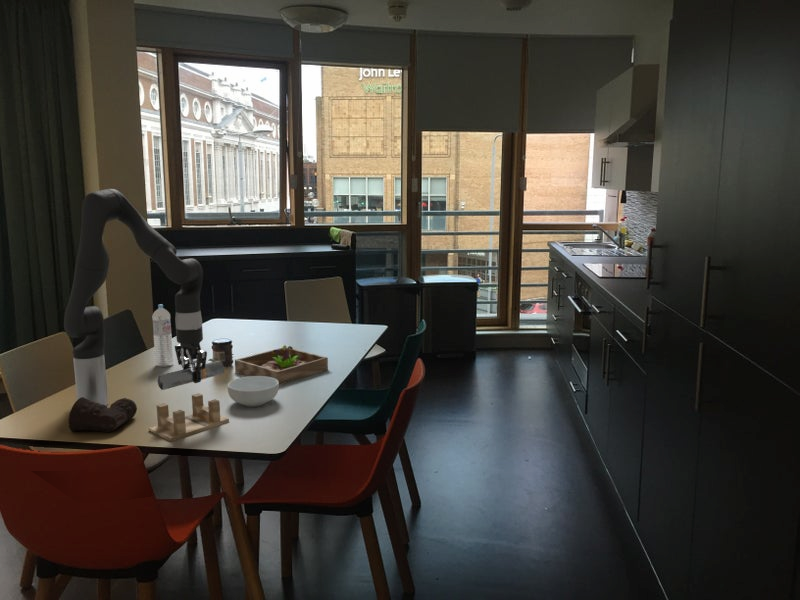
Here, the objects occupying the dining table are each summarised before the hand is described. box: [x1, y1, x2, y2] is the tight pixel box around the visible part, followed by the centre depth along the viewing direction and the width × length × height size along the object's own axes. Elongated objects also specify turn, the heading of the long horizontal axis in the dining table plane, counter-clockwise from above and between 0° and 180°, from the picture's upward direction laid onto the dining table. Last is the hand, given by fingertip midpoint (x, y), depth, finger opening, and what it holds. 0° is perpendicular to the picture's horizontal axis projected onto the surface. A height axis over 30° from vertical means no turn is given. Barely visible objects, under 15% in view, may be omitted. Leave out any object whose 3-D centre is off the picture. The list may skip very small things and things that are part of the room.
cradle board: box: [148, 392, 230, 442], centre depth 195 cm, size 12×20×8 cm, turn 141°
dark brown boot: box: [68, 397, 138, 433], centre depth 196 cm, size 10×15×15 cm
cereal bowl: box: [227, 376, 280, 408], centre depth 217 cm, size 17×17×7 cm
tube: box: [157, 360, 225, 391], centre depth 195 cm, size 20×4×4 cm, turn 141°
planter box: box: [234, 346, 329, 386], centre depth 253 cm, size 26×26×5 cm
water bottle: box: [151, 303, 174, 368], centre depth 259 cm, size 7×7×25 cm
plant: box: [262, 345, 309, 371], centre depth 252 cm, size 20×20×11 cm
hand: (192, 380), depth 195 cm, fingers closed on tube, 4 cm apart
